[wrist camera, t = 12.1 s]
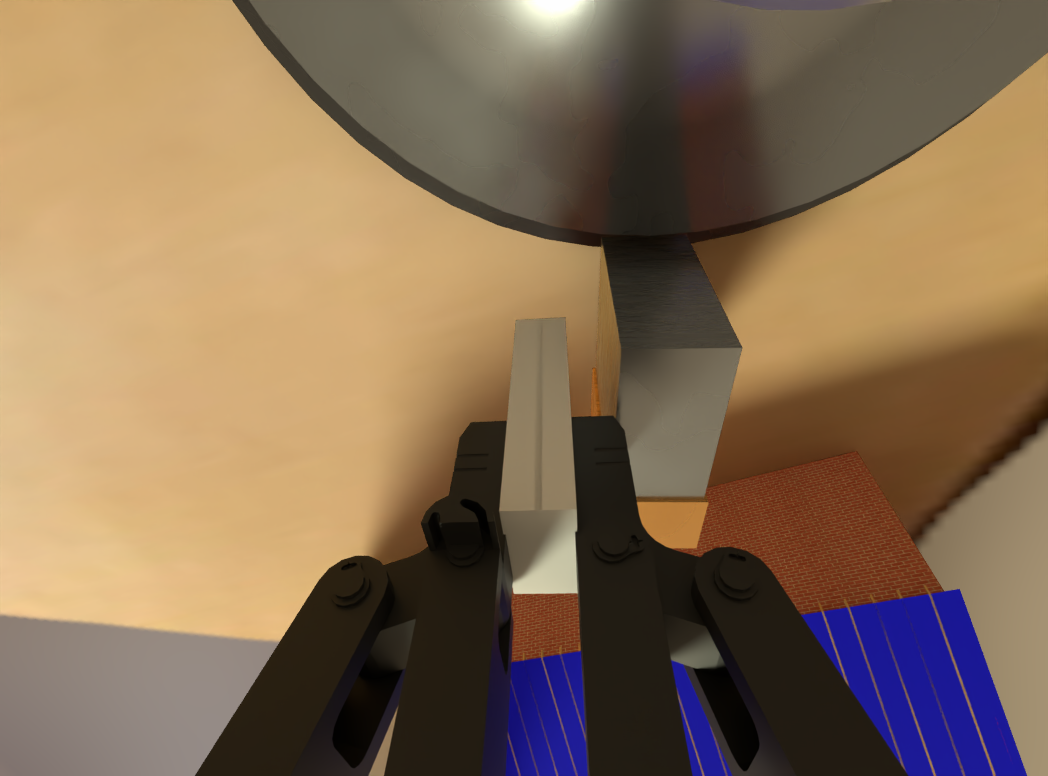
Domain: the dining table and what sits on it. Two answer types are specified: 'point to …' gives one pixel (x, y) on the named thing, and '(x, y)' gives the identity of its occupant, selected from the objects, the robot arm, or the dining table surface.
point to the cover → (801, 4)
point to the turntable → (657, 151)
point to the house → (828, 609)
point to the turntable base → (477, 206)
